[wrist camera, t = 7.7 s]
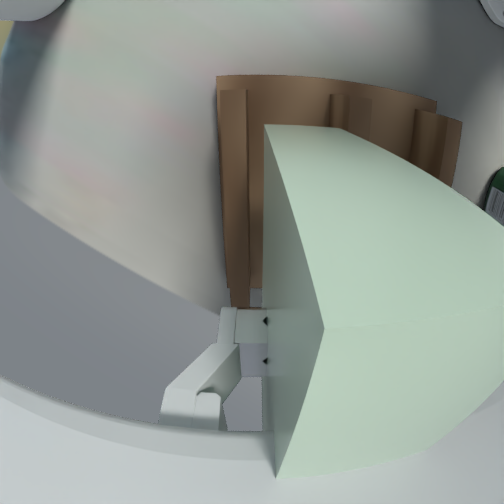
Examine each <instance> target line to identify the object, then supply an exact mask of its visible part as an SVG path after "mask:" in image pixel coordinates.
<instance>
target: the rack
mask: <svg viewBox="0 0 504 504" xmlns="http://www.w3.org/2000/svg"><path fill="white" fill-rule="evenodd" d="M216 82H217V116H218V143H219V165H220V184H221V202H222V219H223V235H224V249H225V263H226V276H227V288H230V298H231V307H250V288H262V275H263V207H264V124H275V125H302V126H318V127H331V128H340V129H342V130H345V131H347V132H349V133H352V134H354V135H356V136H358V137H360V138H362V139H365V140H367V141H369V142H371V143H373V144H375V145H377V146H379V147H381V148H383V149H385V150H387V151H389V152H391V153H393V154H395V155H396V156H398V157H400V158H402V159H404V160H406V161H407V162H409V163H411V164H413V165H415V166H416V167H418V168H420V169H421V170H423V171H425V172H427V173H428V174H430V175H431V176H433V177H435V178H436V179H438V180H440V181H441V182H443V183H444V184H446V185H447V186H449V187H450V188H451V186H452V182H453V177H454V172H455V167H456V162H457V156H458V150H459V144H460V137H461V129H462V122H461V121H458V120H455V119H452V118H449V117H445V116H442V115H438V114H436V105H437V101H434V100H431V99H427V98H424V97H420V96H417V95H413V94H409V93H405V92H401V91H397V90H392V89H388V88H383V87H378V86H373V85H367V84H362V83H355V82H349V81H342V80H334V79H325V78H316V77H303V76H287V75H228V76H216Z"/></svg>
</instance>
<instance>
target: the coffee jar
mask: <svg viewBox="0 0 504 504" xmlns="http://www.w3.org/2000/svg"><path fill="white" fill-rule="evenodd" d="M484 212H486V213H487V214H488V215H490V216H491V217H492V218H493V219H495V220H496V221H497V222H498V223H500V224H501V225H502V226H503V227H504V167H502V168H501V169H500V170H499V171H498V173H497V174H496V176H495V178H494V180H493V181H492V183H491V185H490V187H489V190H488V193H487V197H486V200H485V206H484Z"/></svg>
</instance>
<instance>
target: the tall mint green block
mask: <svg viewBox="0 0 504 504" xmlns="http://www.w3.org/2000/svg"><path fill="white" fill-rule="evenodd" d="M262 307H263V308H266V309H267V329H268V354H267V371H266V376H262V424H263V425H262V429H263V430H262V431H273V432H274V444H275V468H276V479H285V478H299V477H309V476H318V475H326V474H333V473H339V472H345V471H350V470H356V469H361V468H365V467H370V466H374V465H378V464H382V463H386V462H390V461H393V460H397V459H400V458H403V457H407V456H410V455H413V454H416V453H419V452H422V451H425V450H427V449H428V448H430V447H431V446H433V445H434V444H435V443H437V442H438V441H439V440H440V439H442V438H443V437H444V436H446V435H447V434H448V433H449V432H451V431H452V430H453V429H454V428H455V427H457V426H458V425H459V424H460V423H461V422H462V421H464V420H465V419H466V418H467V417H468V416H469V415H470V414H471V413H472V412H473V411H475V410H476V409H477V408H478V407H479V406H480V405H481V404H482V403H483V402H484V401H485V400H486V399H487V398H488V397H489V396H490V395H491V394H492V393H493V392H494V391H495V390H496V388H497V387H498V386H499V385H500V384H501V383H502V382H503V381H504V227H503V226H502V225H501V224H500V223H498V222H497V221H496V220H495V219H493V218H492V217H491V216H490V215H488V214H487V213H486V212H484V211H483V210H482V209H480V208H479V207H478V206H476V205H475V204H474V203H472V202H471V201H469V200H468V199H467V198H465V197H464V196H462V195H461V194H459V193H458V192H456V191H455V190H453V189H452V188H450V187H449V186H447V185H446V184H444V183H443V182H441V181H440V180H438V179H436V178H435V177H433V176H431V175H430V174H428V173H427V172H425V171H423V170H421V169H420V168H418V167H416V166H415V165H413V164H411V163H409V162H407V161H406V160H404V159H402V158H400V157H398V156H396V155H395V154H393V153H391V152H389V151H387V150H385V149H383V148H381V147H379V146H377V145H375V144H373V143H371V142H369V141H367V140H365V139H362V138H360V137H358V136H356V135H354V134H352V133H349V132H347V131H345V130H342V129H340V128H331V127H318V126H302V125H275V124H264V207H263V275H262Z"/></svg>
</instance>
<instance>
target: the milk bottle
mask: <svg viewBox="0 0 504 504" xmlns="http://www.w3.org/2000/svg"><path fill="white" fill-rule="evenodd" d="M64 1H65V0H0V20H11V21H35V20H38V19H41V18H43V17H45V16H47V15H49V14H50V13H52V12H53V11H54V10H56V9H57V8H58V7H59V6H60V5H61V4H62V3H63V2H64Z"/></svg>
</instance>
